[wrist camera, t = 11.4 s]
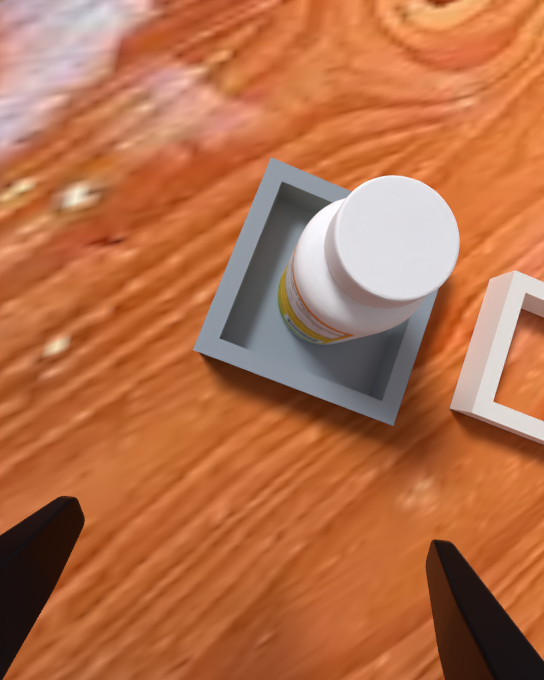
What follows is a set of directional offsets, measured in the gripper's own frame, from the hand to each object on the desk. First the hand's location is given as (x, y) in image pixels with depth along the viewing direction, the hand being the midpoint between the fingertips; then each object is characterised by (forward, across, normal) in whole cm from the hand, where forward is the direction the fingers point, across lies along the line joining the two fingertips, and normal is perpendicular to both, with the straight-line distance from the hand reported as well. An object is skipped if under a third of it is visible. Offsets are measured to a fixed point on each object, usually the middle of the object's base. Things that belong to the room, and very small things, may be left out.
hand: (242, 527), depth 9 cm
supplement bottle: (+14, -2, -1) cm, 14 cm away
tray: (+14, -2, -1) cm, 14 cm away
